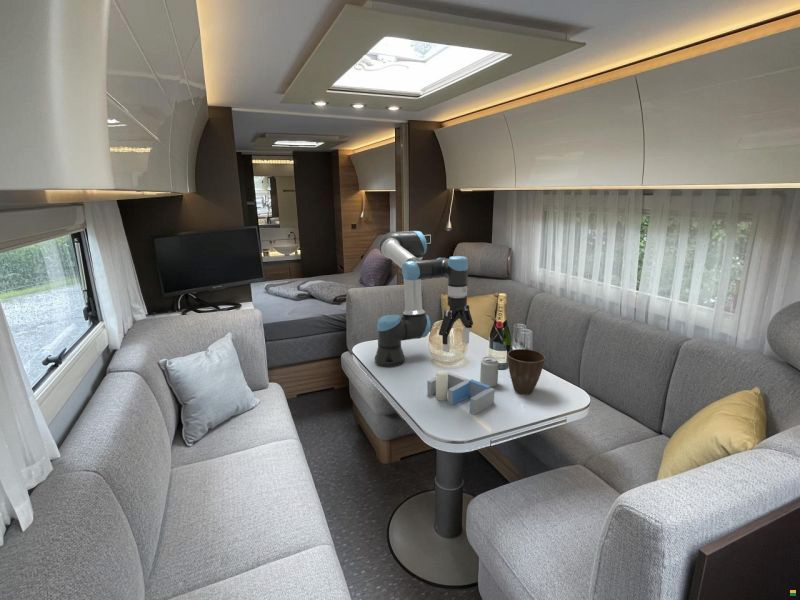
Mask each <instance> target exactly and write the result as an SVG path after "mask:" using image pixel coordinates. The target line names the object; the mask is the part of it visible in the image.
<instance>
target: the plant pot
mask: <svg viewBox="0 0 800 600" xmlns="http://www.w3.org/2000/svg"><path fill="white" fill-rule="evenodd" d="M545 359H546V356H545V355H544V354H543V353H541V352H539V351H536V350H533V349H526V348H516V349H515V348H514V349H512V350H509V351H508V352H507V363H508V370H509V372H508V373H509V375H510V381H511V383H512V386H513V389H514V391H515V392H516V393H517V394H521V395H530V394H532V393H533V392H534V391H535V388H536V386H537V384H538V382H539V380H540V378H541V377H540V376H541V374H542V371H543V369H544V364H545Z"/></svg>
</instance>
